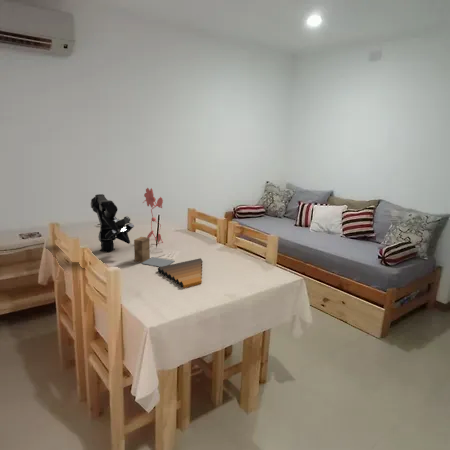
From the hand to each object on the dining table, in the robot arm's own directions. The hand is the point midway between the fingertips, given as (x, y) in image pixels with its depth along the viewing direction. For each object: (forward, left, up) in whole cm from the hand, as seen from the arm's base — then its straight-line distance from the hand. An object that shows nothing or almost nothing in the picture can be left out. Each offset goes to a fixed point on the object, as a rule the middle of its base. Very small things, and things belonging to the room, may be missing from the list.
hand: (129, 243), depth 198 cm
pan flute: (+41, -6, -9) cm, 43 cm away
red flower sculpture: (-6, +30, -9) cm, 32 cm away
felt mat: (+18, 0, -8) cm, 20 cm away
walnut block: (+8, 0, -9) cm, 12 cm away
